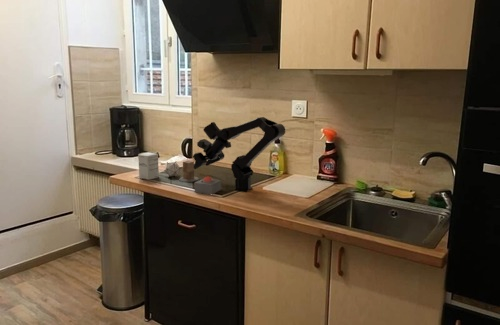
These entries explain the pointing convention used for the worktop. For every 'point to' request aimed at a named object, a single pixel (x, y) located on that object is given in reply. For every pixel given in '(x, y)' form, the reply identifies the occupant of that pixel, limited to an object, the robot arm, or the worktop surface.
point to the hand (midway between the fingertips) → (200, 166)
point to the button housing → (207, 186)
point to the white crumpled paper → (172, 169)
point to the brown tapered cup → (188, 170)
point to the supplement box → (148, 165)
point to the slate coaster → (189, 180)
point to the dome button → (207, 180)
